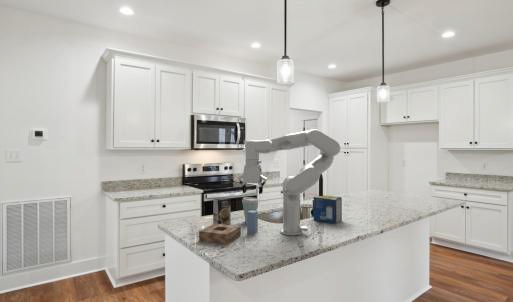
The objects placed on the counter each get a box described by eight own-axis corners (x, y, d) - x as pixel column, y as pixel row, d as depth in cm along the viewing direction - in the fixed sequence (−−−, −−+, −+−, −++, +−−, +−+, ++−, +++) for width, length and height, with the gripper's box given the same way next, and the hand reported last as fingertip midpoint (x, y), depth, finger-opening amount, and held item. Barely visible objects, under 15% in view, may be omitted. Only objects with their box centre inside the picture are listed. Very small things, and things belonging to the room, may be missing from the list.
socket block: (240, 235, 158) (240, 226, 157) (227, 244, 143) (227, 234, 143) (214, 232, 163) (214, 223, 163) (199, 240, 148) (199, 231, 148)
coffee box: (218, 227, 174) (218, 200, 174) (212, 224, 179) (212, 198, 179) (231, 224, 180) (231, 198, 180) (225, 222, 185) (225, 197, 185)
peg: (257, 232, 164) (257, 211, 164) (254, 234, 160) (254, 212, 159) (250, 231, 165) (250, 210, 165) (247, 233, 161) (247, 211, 161)
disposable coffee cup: (259, 219, 193) (259, 196, 193) (257, 223, 182) (257, 199, 182) (243, 219, 194) (243, 196, 194) (240, 223, 183) (240, 199, 183)
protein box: (320, 217, 200) (320, 194, 199) (342, 221, 190) (342, 197, 190) (313, 220, 191) (313, 196, 191) (335, 224, 182) (335, 199, 182)
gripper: (269, 162, 162) (269, 193, 163) (241, 162, 169) (241, 191, 169) (264, 163, 156) (264, 195, 156) (235, 162, 162) (235, 193, 162)
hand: (252, 193), depth 162 cm, fingers open, 9 cm apart
